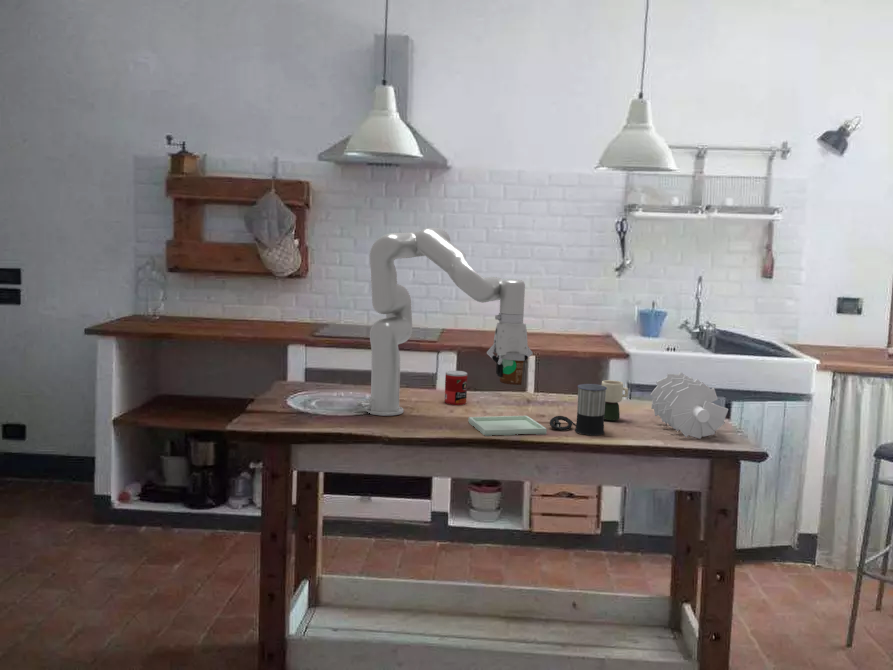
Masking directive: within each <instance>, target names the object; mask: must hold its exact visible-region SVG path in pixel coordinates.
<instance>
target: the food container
mask: <svg viewBox="0 0 893 670" xmlns="http://www.w3.org/2000/svg"><path fill="white" fill-rule="evenodd" d="M498 358H499V355H498ZM501 359H503V360H502V365H503V375H502V377H499V383H501V384H504V385H512V386H513V385H514V386H522V381H523V373H524V372H523V370H524V362H526V360H525V356H524V354H515V353H506V355H504V356H501Z"/></svg>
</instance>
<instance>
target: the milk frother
mask: <svg viewBox="0 0 893 670" xmlns="http://www.w3.org/2000/svg"><path fill="white" fill-rule="evenodd" d="M577 389H578V391H577V410H576V412H577V413H576V423H574V421H573V420H571V419H570V418H568V417H567V416H564V415H556V416H554V417H552V418H551V419H550V420H549V426H550V427H551V428H552V429H555V430H559V431H568V430H570V429H572V428H573V425H574V426H575V429H574V432H575V431H576V433H577V434H579V433H581V435H583V434H587V435H586V436H601V434H602V435H603V434H605V419H604V412H605V397H606V389H607V387H605V386H602V384H597V383H582V384H578V385H577ZM561 421H564V422H565V423H567V425H566V426H561V425H562V423H561Z"/></svg>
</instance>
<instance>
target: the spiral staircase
mask: <svg viewBox="0 0 893 670" xmlns="http://www.w3.org/2000/svg"><path fill="white" fill-rule="evenodd" d="M656 385H657V386H656V387H655V388H654V389H653V390H652V392H651V393H650V396H651V397H652V400H651V402H652V403H651V410H653V411H654V412H653V413H654V416H655V417H657V416H658V417H660V419H661V421H662V423H664V424H668V425H669V426H670V427H671V428H672V429H673V430H675V431H676V432H678V431H680V432H681V433H682V435H683V436H684V437H685V438H687V437H688V436H690V437H693V438H696V439H699V440H700V439H701V438H702V437H707V436H713V435H716V432H717V431H718V430H719V428H721V427H722V426H723V425H724V424H726V422H725V420H726V417H727V414H728V411H729V408H727V407H724V406H721V405H718V404H716V403H713V402H716V401H718V400H719V398H718V396H717V392H716V389H715V387H712V388H710V387H709V385H707V384H706V383H704V382H701V381H700V380H699V379H698V378H696V379H695V380H694V379H693V377H692V376H690V377H688V376H687V375H685V374H684V373H683V372H681V371H679V373H676V374H675V373H666V376H665V377H663V378H661V379H659V380H657V381H656Z"/></svg>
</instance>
